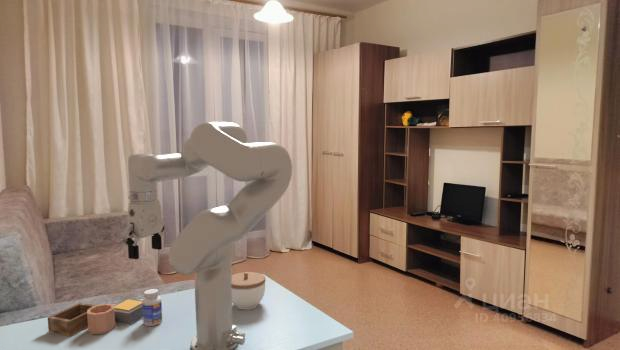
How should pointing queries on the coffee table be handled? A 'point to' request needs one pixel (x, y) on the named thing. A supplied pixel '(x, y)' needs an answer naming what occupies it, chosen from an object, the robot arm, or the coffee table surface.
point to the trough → (70, 320)
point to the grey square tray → (128, 314)
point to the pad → (128, 305)
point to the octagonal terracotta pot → (101, 318)
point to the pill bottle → (152, 308)
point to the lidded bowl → (247, 289)
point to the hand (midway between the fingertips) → (145, 253)
